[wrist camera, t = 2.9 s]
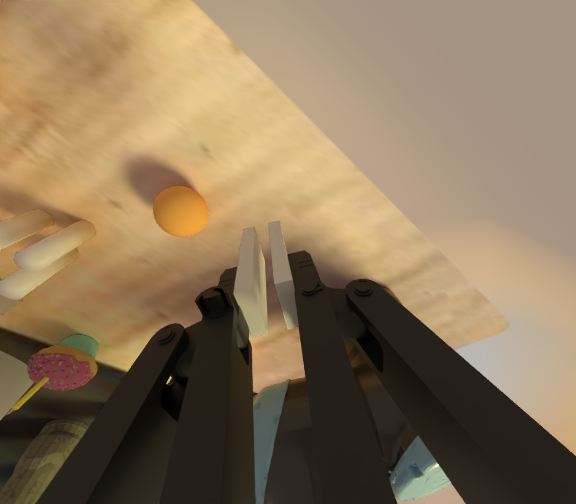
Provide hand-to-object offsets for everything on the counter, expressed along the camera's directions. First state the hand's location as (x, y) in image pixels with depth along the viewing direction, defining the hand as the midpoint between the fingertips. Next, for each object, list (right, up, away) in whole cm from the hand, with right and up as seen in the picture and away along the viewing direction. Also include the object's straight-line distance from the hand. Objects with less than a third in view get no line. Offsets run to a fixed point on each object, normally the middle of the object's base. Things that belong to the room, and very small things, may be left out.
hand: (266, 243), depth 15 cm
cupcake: (-34, -16, +24) cm, 45 cm away
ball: (-11, +4, +12) cm, 17 cm away
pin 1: (-30, +4, +13) cm, 33 cm away
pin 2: (-29, -1, +16) cm, 33 cm away
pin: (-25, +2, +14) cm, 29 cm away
